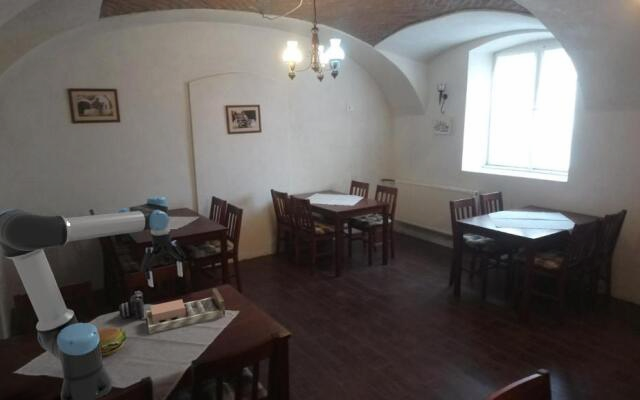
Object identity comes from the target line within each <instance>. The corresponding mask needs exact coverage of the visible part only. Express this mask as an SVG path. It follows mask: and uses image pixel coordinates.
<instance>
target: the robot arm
mask: <svg viewBox="0 0 640 400" xmlns="http://www.w3.org/2000/svg"><path fill="white" fill-rule="evenodd" d="M170 227H171V226H170V217H169V206H168V201H167V198H166V197H165V196H163V195H155V196H150V197H147V198H146V203H144V204H139V205H132V206H127V207H123V208H121V209H119V210H118V212H116V213H115V212H114V213H105V214H96V215H94V214H93V215H85V216H84V215H83V216H73V217H64V216H63V215H41V214H36V213H32V212H29V211H27V210H24V209H20V208H16V209H15V208H12V209H11V208H10V209H5V210H3V211H1V212H0V249H1V251H2V254H3V255H4V257H5V258H6V259H9V260H12V261H13V264H14V265H15V268H16V271H17V272H18V275H19V277H20V279H21V282H22V284H23V287H24V289H25V291H26V293H27V296H28V298H29V300H30V302H31V305H32V307H33V310H34V312H35V314H36V317H37V319H38V321H37V323H36V325H35V328H36V330H37V340H38V342H39V344H40V346H41V348H43V350H44V351H46V352H49V353H50V354H51V355H53V357H54V358H56V359H58V360H59V361H60V364H61V370H62V374H63V375H62V376H63V381H62V385H61V386H62V387H61V392H60V400H95V399H97V398H99V397H102V396H104V395H106V396H107V395H108V394H109V393H110V392H111V391H112V387H113V384H112V383H113V382H112V377H110V375H109V373H108V371H107V370H106V368H105V367H104V362H103V357H102V355H101V348H100V341H99V339H100V338H99V334H98V331H99V330H98V328H97V327H96V326H95V325H94V324H91V323H89V322H84V323H83V322H78V320H77V317H76V314H75V312H74V310H72V309H69V308H67V306H66V304H65V300H64V298H63V296H62V294H61V291H60V288H59V286H58V283H57V281H56V279H55V276H54V273H53V271H52V268H51V265H50V263H49V261H48V259H47V257H46V254H45V251H44V250H45V249H49V248H55V247H62V246H66V244H67V243H69V242H74V241H81V240H90V239H95V238H101V237H102V238H103V237H109V236H116V235H124V234H131V233H137V232H146V231H147V232H148V231H150V234H151V236H150V238H151V243H152V246H151V247H145V248H144V256H143V259H142V262H141V264H140V268H139V271H140V272H141V273H144V275H145V276H144V277H145V279H146V280H147V283H148V284H147V285H148V286H149V287H151V288H154V281H153V279H154V277H153V272H152V268H153V266H154V265H155V263H156V261H157V260H158V258H159V257H162V256H164V255H168V254H170V255H171V256H173V257H174V258H175V259H176V260H177V261H176V267H177V275H178V277H181V278H183V274H184V273H183V269H184V262H185V260H187V259H188V256H187V255H186V254H185V252H184V251H183V249H182V247H181V246H180V244H179V241H178V240H177V239H176V240H175V239H173V240H172V235H171V228H170ZM173 246H174V248H175V249H176V251H177V252H178V253H176V252H175V251H174V250H173V249H172V247H173Z"/></svg>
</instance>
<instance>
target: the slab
mask: <svg viewBox="0 0 640 400" xmlns="http://www.w3.org/2000/svg"><path fill="white" fill-rule="evenodd" d="M184 303H185V302H184V301H183V299H182V298H181V299H176V300H172V301H168V302H162V303H158V304H153V305H150V310H151V314H152V319H153V322H156V321H160V320H165V319H169V318H174V317H178V316H182V315H186V311H185V306H184Z"/></svg>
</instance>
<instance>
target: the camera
mask: <svg viewBox="0 0 640 400" xmlns="http://www.w3.org/2000/svg"><path fill="white" fill-rule="evenodd" d="M118 310H119V311H118V312H119V317H120V318H130V317H135V319H136V320H137V319H140V320H142V318H143V319H144V317H145V305H144V294H143V292H142V291H141V290H136V291H134V293H133V294H132V295H131V297H129V301H128V302H125V303H121V304H120V305H119V306H118Z"/></svg>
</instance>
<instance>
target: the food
mask: <svg viewBox="0 0 640 400" xmlns="http://www.w3.org/2000/svg"><path fill="white" fill-rule="evenodd" d="M97 331H98V334H99V338H100V339H99V341H100V348H101V355H102V356H107V355H111V354H114V353H116V352H118V351H120V350H121V349H122V348H123V346H124V344H125V341H126V340H127V336H126V332H125V331H124V330H122V328H120V329H119V328H116V327H112V326H111V327H105V328H104V327H103V328H101V329H100V330H99V329H98V330H97Z"/></svg>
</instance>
